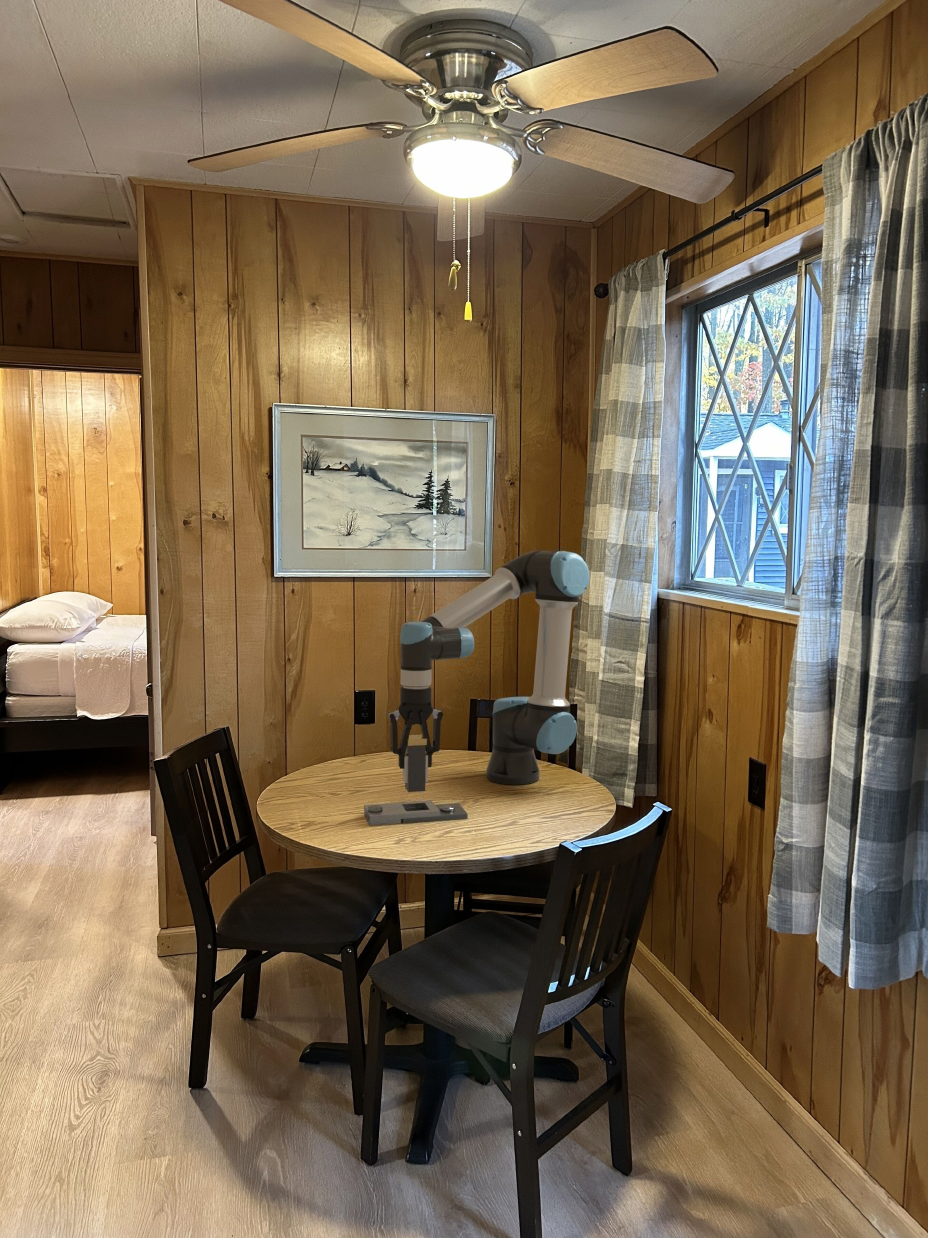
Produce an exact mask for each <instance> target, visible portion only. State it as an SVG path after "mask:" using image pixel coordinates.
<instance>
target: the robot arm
mask: <svg viewBox="0 0 928 1238" xmlns="http://www.w3.org/2000/svg"><path fill="white" fill-rule="evenodd" d="M590 577H591V576H590V570H589V567H588V564H587V562H586V561H584V559H583V557H582V556H580V554H578V553H575V552H570V551H566V550H539V549H538V550H532V551H528V552H526V553H523V554H521V555H520V556H518V557H515V558H513V559H512V560H510V561H508V562H506V563H505V564H503V565H502V566H499V568H497V569H496V570H495V572H494V575H493V576H491V577H489V578H488V579H486V580H485V581H484V582H482V583H480V584H479V585H476V587H473V588H472V589H470V590H469V591H468V592H466V593H464V594H463V595H461V596H459V597H458V598H457V599H455V600H453V601H451V602H450V603H449V604H447V605H446V606H444V607H442V608H440V609H439V610H437V611H436V612H434V613H432V614H430V615H429V616H428V617H426V618H425V619H423V620H421V621H409V622H404V623H403V624H402V625H401V628H400V629H401V630H400V633H399V643H400V682H399V683H400V685H401V687H400V692H399V693H400V697H399V699H400V701H399V702H400V703H399V707H398V709H397V710H395V711H393V712H392V711H390V712H388V713H387V716H388V718H389V722H390V750H391V752H392V753H393V754H394V755H398V767H399V769H401V770H402V781H403V783H404V784H405V783H408V756H407V755H406V754H405V752H406V748H407V739H409V735H411V734H410V732H411V729H412V727H413V726H415V725H418V726H420V731H421V735H422V736H423V737H424V738H427V745H426V771H425V783H426V782H427V783H428V782H429V779H428V778H429V776H428V775H429V774H428V773H429V768H432V765H433V755H434V753H436V752H439V751H441V748H440V747H441V728H442V727H441V726H442V723H441V722H442V719H443V716H444V713H443V711H441V710H440V709H434V707H433V705H432V687H431V685H432V677H433V676H432V669H433V668H432V666H433V661H439V660H441V661H442V660H453V659H458V660H459V659H462V658H468V657H470V656H471V655H472V654H473V652H474V650H475V638H474V635H473V633H472V631H471V630H470V629H469V628H467V626H469V625H471V624H472V623H473V622H476V621H477V620H478V619H480V618H481V617H483V616H484V615H486V614H488V613H489V612H490V611H492V610H493V609H495V608H497V607H499V606H500V605H502V604H503V603H504V602H506V601H508V600H509V599H511V600H516V599H518V598H519V597H521V596H522V595H525V594H532V593H535V595H534V599H535V602H536V603H537V605H539V615H538V630H537V631H538V632H537V642H536V643H537V644H536V656H535V667H534V677H533V678H534V679H533V680H534V681H533V682H534V683H533V693H532V695H531V696H511V697H501V698H498V699H496V700H495V701H493V702H494V703H493V711H492V752H491V755H490V757H489V761H488V764H487V767H486V772H485V774H486V775H485V776H486V779H487V780H488V781H489V782H492V783H496V784H501V785H508V786H509V785H510V786H513V785H514V786H515V785H516V786H517V785H527V784H528V785H529V784H533V783H536V782H537V781H539V780H540V777H541V776H540V768H539V764H538V761H537V758H536V754H535V750H536V751H539V752H541V753H545V754H551V755H559V754H561V753H564V752H565V751H566V750H568V748H569V747H570V746H572V744H573V743H574V741H575V739H576V735H577V731H578V725H577V724H578V723H577V720H575V717H574V716H573V715H572V713H570V707H571V703H570V702H569V701H568V699H567V698H566V686H567V677H568V676H567V674H568V663H569V651H570V650H569V649H570V639H571V627H572V626H571V625H572V617H573V616H572V614H573V609H574V608H575V607H576V606H577V605H579V602H580V601H579V599H580V596H582V595H583V594H584V593H585V592H586V590H588V587H589V585H590ZM431 715H432V718H433V726H432V727H433V728H432V729H433V731H432V733H433V734H432V743H431V737H430V734H429V730H428V728H429V727H428V722H427V721H428V720H429V718H430V716H431ZM399 716H400V717H402V719H403V721H404V723H403V729H402V734H401V737H400V743H398V739H399V738H398V720H399ZM398 744H399V745H398ZM398 746H399V747H398Z"/></svg>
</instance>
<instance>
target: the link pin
mask: <svg viewBox="0 0 928 1238" xmlns="http://www.w3.org/2000/svg"><path fill="white" fill-rule="evenodd" d="M426 745H427V738H424V737H423V736H422V734H409V739H407V748H406V752H405V754H406V755H407V756H408V783H404V789H405V790H406V791H407V792H408V793H415V792H420V793H421V792H426V782H425V771H426Z"/></svg>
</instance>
